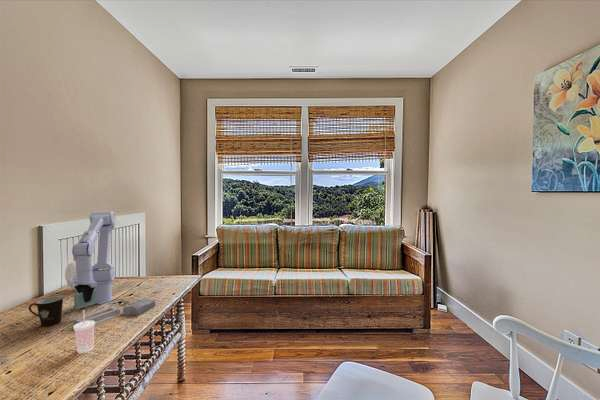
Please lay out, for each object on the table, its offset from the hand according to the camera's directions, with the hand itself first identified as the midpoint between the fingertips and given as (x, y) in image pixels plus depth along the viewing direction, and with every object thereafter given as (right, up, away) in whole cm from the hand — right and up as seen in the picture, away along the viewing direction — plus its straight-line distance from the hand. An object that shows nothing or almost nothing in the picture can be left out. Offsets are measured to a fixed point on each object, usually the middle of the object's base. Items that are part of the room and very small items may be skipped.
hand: (86, 301), depth 135 cm
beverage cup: (+19, -8, -28) cm, 35 cm away
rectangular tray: (+8, -7, -5) cm, 12 cm away
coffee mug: (-11, -7, -6) cm, 15 cm away
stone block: (+20, -6, +6) cm, 22 cm away
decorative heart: (-27, -6, +34) cm, 44 cm away
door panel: (0, -2, 0) cm, 2 cm away
